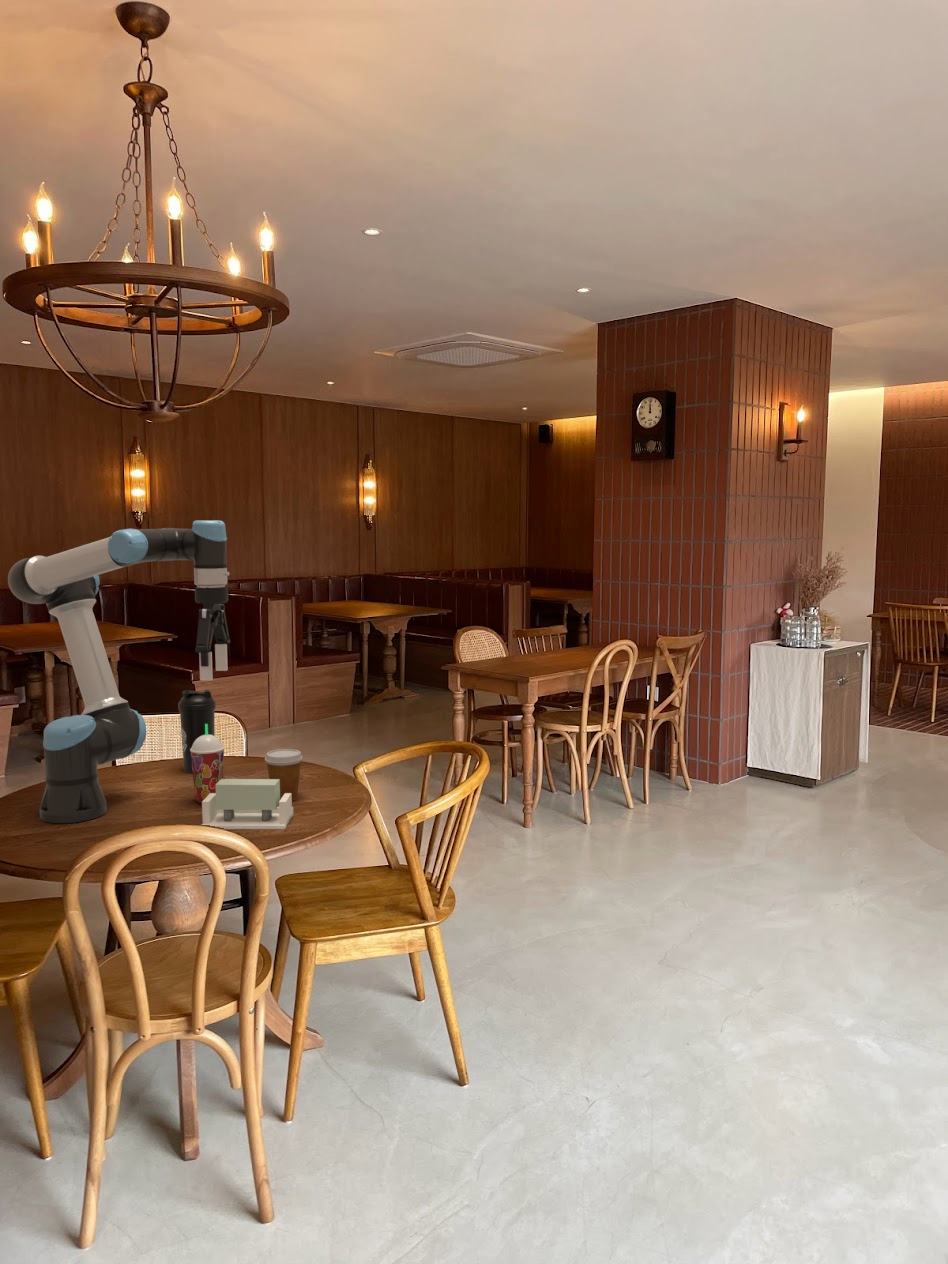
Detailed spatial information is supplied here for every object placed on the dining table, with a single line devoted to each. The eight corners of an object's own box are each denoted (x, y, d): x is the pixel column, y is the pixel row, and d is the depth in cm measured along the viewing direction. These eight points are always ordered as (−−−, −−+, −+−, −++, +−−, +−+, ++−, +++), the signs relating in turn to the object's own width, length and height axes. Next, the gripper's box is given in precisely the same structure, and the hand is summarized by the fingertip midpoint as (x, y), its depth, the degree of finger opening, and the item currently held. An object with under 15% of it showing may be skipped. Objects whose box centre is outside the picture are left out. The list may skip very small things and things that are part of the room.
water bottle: (180, 766, 277) (177, 688, 274) (216, 764, 280) (214, 686, 277) (180, 775, 268) (177, 695, 265) (218, 772, 271) (215, 692, 268)
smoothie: (231, 797, 247) (229, 721, 245) (214, 806, 239) (212, 728, 237) (203, 794, 249) (200, 719, 247) (185, 804, 241) (182, 726, 239)
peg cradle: (200, 829, 222) (199, 804, 221) (213, 815, 232) (212, 791, 232) (284, 829, 222) (284, 804, 221) (293, 815, 232) (292, 791, 232)
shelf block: (216, 809, 224) (215, 784, 224) (222, 803, 229) (221, 778, 229) (275, 809, 224) (274, 785, 223) (280, 803, 229) (279, 779, 228)
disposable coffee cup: (295, 805, 240) (293, 758, 239) (259, 802, 242) (258, 756, 241) (309, 794, 250) (308, 749, 248) (274, 792, 252) (273, 747, 250)
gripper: (212, 590, 212) (216, 684, 215) (240, 582, 237) (242, 666, 239) (179, 590, 212) (182, 684, 215) (209, 582, 237) (212, 666, 239)
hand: (214, 675), depth 227 cm, fingers open, 13 cm apart
